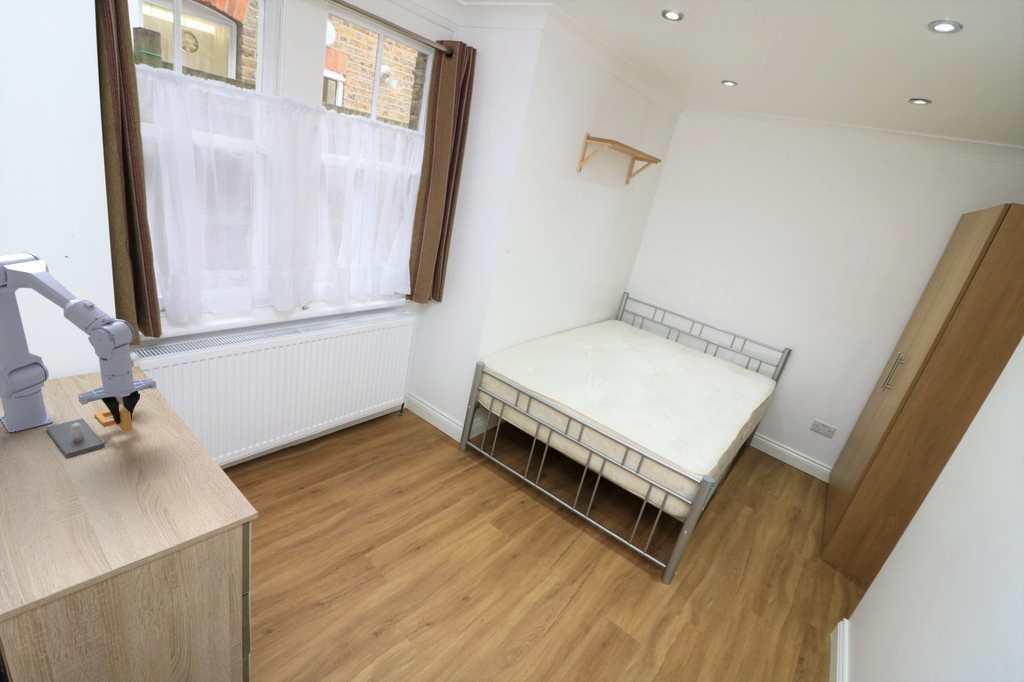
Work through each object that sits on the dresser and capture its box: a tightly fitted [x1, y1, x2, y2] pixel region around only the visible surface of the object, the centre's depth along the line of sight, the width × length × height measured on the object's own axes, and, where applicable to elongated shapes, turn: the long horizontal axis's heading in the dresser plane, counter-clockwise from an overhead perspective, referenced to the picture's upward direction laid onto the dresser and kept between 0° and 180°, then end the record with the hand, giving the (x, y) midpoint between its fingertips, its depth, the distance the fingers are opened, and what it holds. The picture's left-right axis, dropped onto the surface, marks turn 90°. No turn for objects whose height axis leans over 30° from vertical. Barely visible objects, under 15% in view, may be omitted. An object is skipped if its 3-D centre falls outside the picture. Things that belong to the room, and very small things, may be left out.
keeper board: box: [45, 418, 105, 458], centre depth 116 cm, size 15×7×6 cm, turn 55°
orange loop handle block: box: [93, 404, 136, 433], centre depth 117 cm, size 12×6×5 cm, turn 55°
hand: (122, 420), depth 116 cm, fingers closed on orange loop handle block
